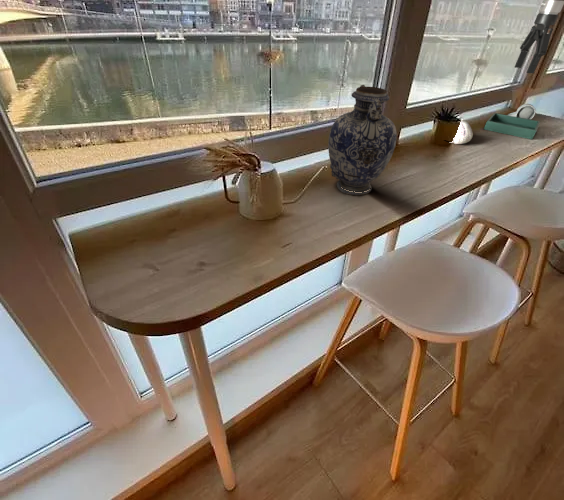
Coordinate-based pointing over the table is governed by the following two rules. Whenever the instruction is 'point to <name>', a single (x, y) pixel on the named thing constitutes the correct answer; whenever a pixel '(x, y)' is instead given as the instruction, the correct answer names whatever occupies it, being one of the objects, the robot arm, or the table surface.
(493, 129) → the tray
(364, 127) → the decorative vase
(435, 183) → the table surface
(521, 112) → the ceramic mug
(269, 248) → the table surface
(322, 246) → the table surface
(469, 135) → the sea urchin shell
